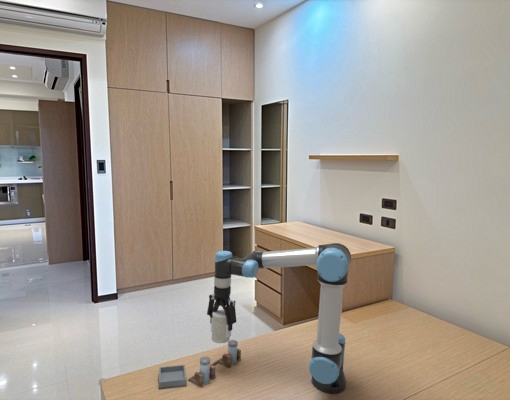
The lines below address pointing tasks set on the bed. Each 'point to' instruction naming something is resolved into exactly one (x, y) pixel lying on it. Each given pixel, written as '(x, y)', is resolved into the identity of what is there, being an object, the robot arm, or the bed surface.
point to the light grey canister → (219, 327)
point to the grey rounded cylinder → (205, 369)
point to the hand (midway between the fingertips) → (220, 333)
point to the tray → (172, 376)
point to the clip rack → (214, 368)
